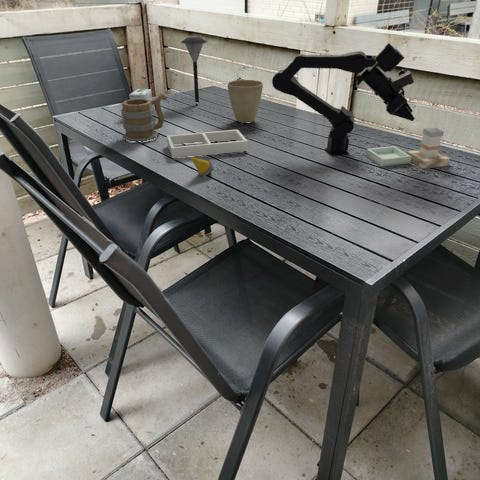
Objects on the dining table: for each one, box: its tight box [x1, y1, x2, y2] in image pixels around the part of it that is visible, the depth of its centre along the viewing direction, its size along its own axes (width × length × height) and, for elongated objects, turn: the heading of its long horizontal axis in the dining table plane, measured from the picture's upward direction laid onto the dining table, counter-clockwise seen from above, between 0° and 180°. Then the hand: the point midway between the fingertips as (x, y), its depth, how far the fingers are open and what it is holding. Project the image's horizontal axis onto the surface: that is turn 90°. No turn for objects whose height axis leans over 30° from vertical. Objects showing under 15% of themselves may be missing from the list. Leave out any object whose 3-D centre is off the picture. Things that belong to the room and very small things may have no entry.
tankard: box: [120, 93, 168, 142], centre depth 170 cm, size 20×13×15 cm, turn 131°
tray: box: [365, 145, 412, 168], centre depth 150 cm, size 11×11×2 cm
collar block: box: [406, 149, 451, 170], centre depth 148 cm, size 10×10×2 cm
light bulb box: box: [128, 88, 154, 107], centre depth 196 cm, size 11×7×11 cm, turn 172°
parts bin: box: [166, 129, 249, 159], centre depth 160 cm, size 27×14×4 cm, turn 105°
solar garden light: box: [180, 36, 208, 103], centre depth 207 cm, size 12×12×30 cm
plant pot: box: [227, 79, 264, 124], centre depth 186 cm, size 15×15×16 cm
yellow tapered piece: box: [189, 157, 214, 177], centre depth 138 cm, size 5×5×10 cm
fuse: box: [419, 127, 445, 159], centre depth 146 cm, size 4×4×11 cm
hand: (412, 116), depth 144 cm, fingers open, 9 cm apart
